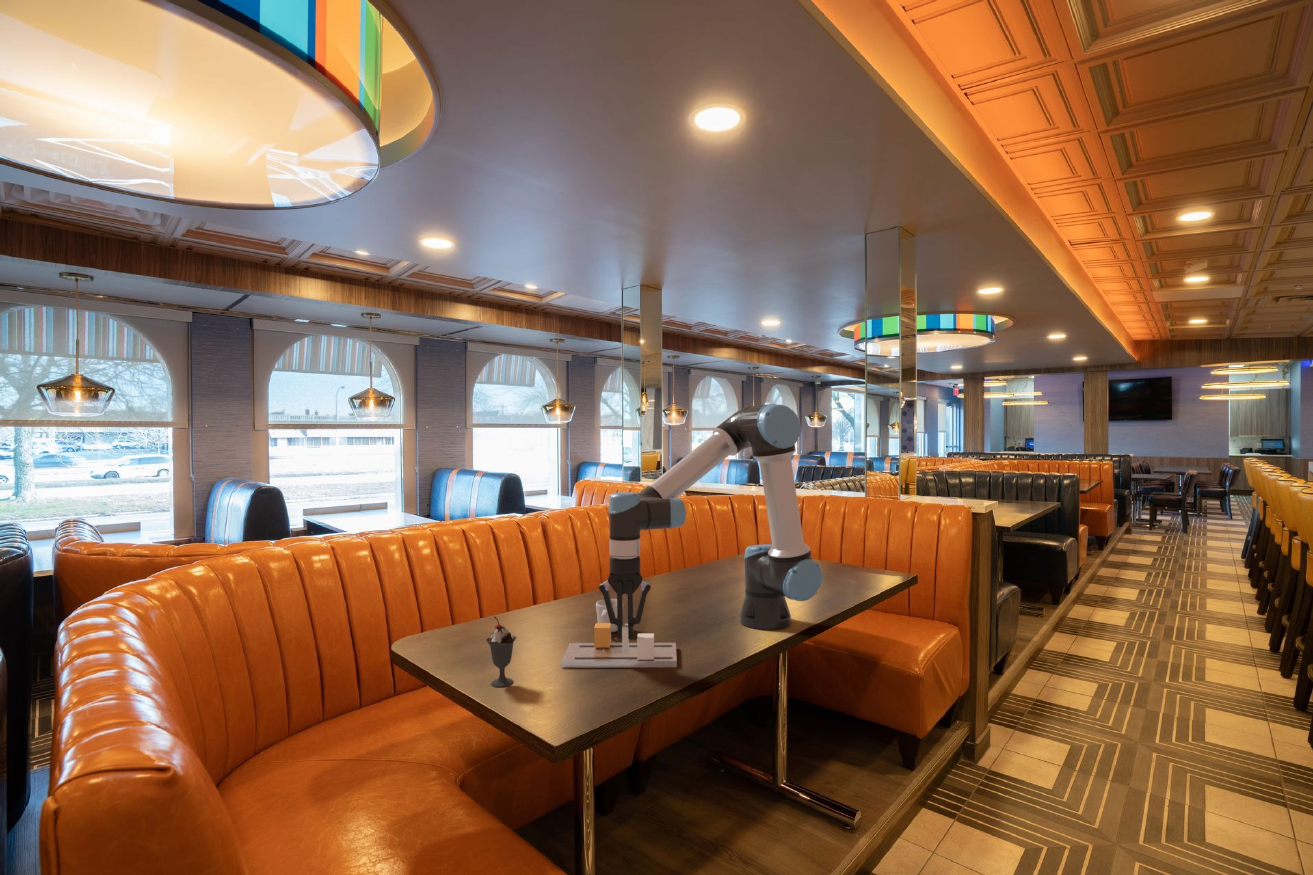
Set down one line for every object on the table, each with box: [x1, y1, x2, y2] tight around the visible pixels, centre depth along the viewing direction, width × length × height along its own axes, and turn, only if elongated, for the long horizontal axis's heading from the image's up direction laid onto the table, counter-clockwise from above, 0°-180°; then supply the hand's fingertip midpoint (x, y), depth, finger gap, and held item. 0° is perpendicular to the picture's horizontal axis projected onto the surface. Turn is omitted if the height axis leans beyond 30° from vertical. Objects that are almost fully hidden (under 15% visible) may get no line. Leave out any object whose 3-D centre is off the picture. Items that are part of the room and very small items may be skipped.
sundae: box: [485, 615, 517, 688], centre depth 139 cm, size 7×7×15 cm
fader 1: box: [593, 622, 612, 647], centre depth 158 cm, size 4×4×5 cm
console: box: [560, 642, 678, 669], centre depth 154 cm, size 28×13×2 cm, turn 89°
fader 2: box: [636, 632, 655, 660], centre depth 150 cm, size 4×4×5 cm
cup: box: [595, 598, 624, 633], centre depth 175 cm, size 11×8×8 cm
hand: (625, 651), depth 150 cm, fingers closed
